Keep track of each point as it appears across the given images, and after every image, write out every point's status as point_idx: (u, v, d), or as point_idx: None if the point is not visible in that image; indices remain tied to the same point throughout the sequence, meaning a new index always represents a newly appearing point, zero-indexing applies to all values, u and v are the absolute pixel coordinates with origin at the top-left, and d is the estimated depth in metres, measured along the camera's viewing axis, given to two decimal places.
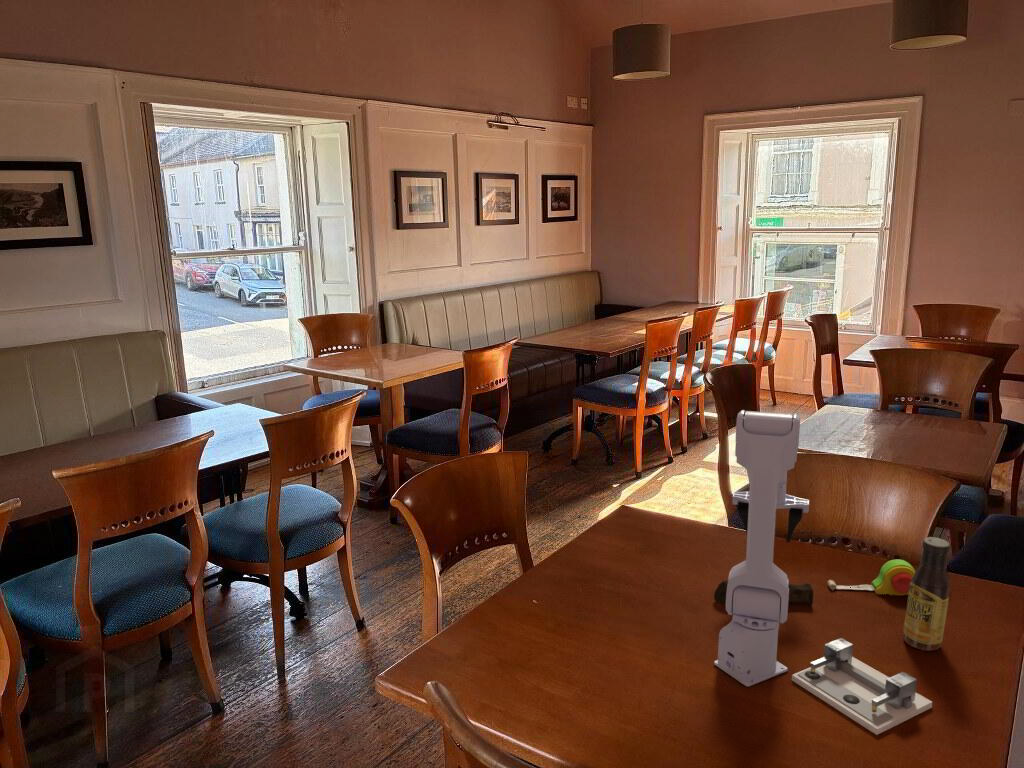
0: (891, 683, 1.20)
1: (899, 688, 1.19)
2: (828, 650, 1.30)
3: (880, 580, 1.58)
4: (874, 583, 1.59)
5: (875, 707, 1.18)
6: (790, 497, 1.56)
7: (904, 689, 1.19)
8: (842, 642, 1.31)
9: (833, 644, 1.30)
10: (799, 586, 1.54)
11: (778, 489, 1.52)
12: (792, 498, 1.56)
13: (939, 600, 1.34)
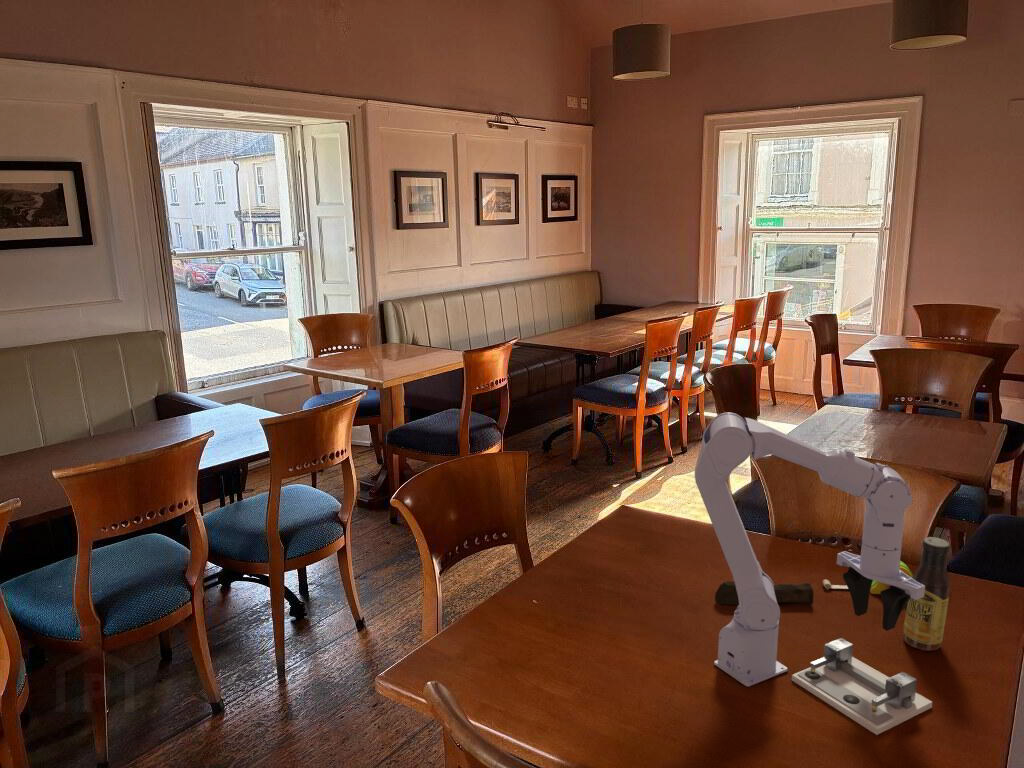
0: (891, 683, 1.20)
1: (899, 688, 1.19)
2: (828, 650, 1.30)
3: None
4: None
5: (875, 707, 1.18)
6: (906, 577, 1.23)
7: (904, 689, 1.19)
8: (842, 642, 1.31)
9: (833, 644, 1.30)
10: (799, 586, 1.54)
11: (879, 555, 1.22)
12: (908, 579, 1.22)
13: (939, 600, 1.34)
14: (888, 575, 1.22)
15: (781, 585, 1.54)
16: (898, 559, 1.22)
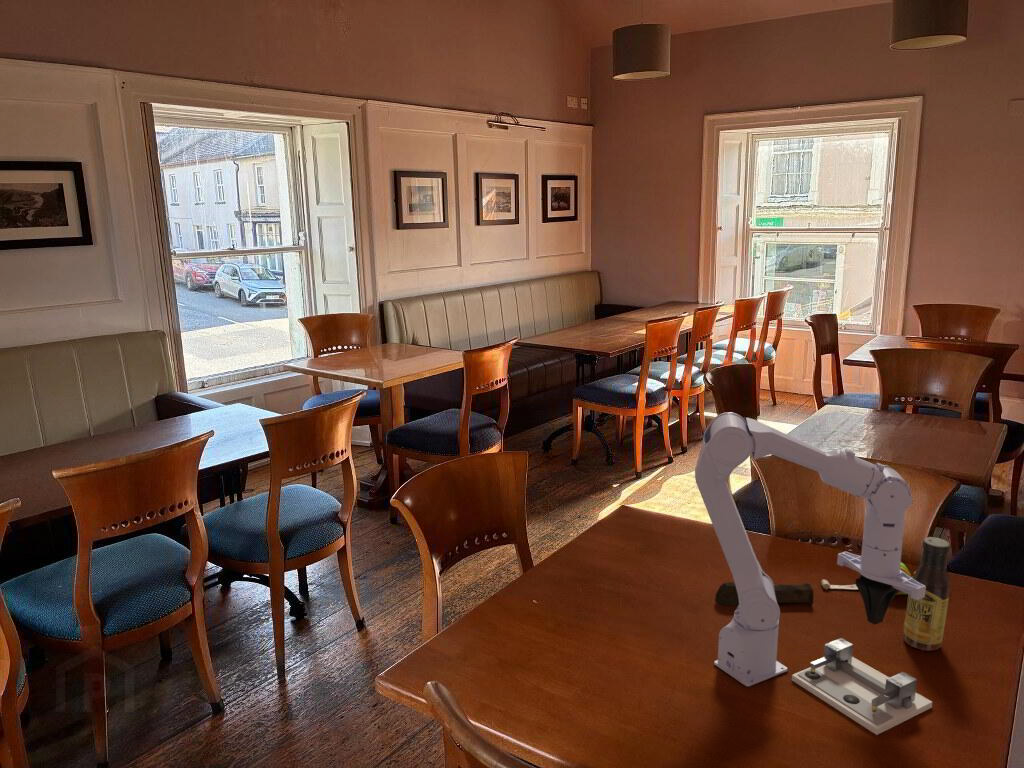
0: (891, 683, 1.20)
1: (899, 688, 1.19)
2: (828, 650, 1.30)
3: None
4: None
5: (875, 707, 1.18)
6: (907, 577, 1.23)
7: (904, 689, 1.19)
8: (842, 642, 1.31)
9: (833, 644, 1.30)
10: (799, 586, 1.54)
11: (880, 556, 1.22)
12: (908, 579, 1.22)
13: (939, 600, 1.34)
14: (889, 575, 1.22)
15: (781, 585, 1.54)
16: (899, 559, 1.22)
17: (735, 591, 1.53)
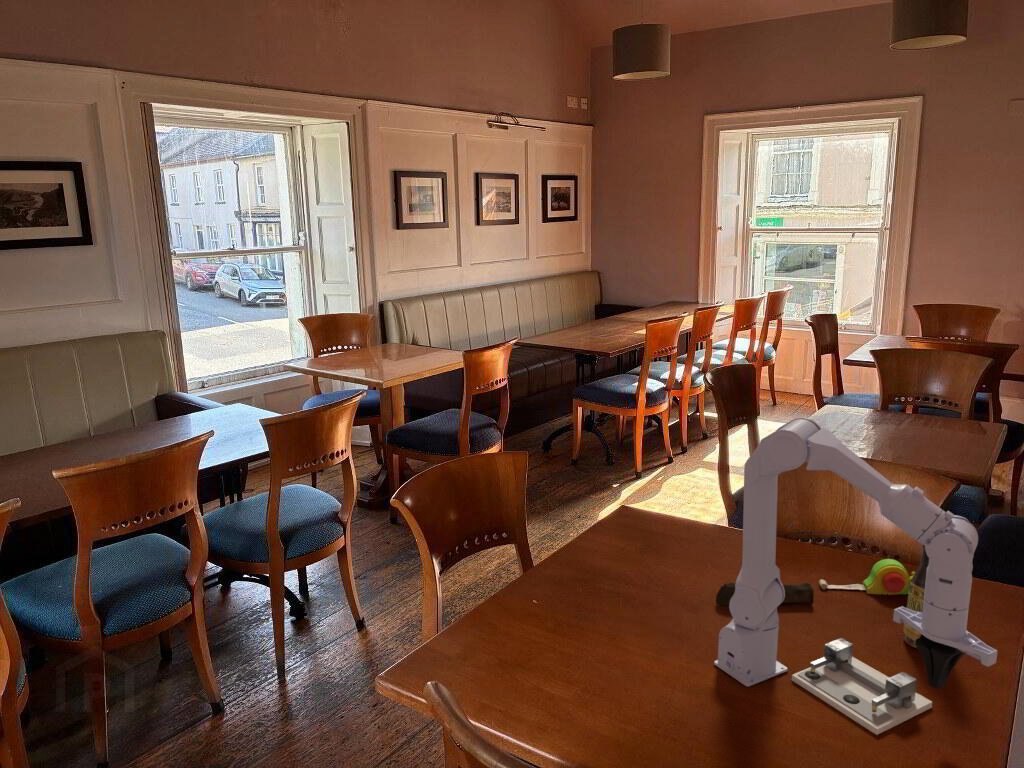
0: (891, 683, 1.20)
1: (899, 688, 1.19)
2: (828, 650, 1.30)
3: (871, 580, 1.58)
4: (865, 583, 1.59)
5: (875, 707, 1.18)
6: (974, 639, 1.11)
7: (904, 689, 1.19)
8: (842, 642, 1.31)
9: (833, 644, 1.30)
10: (799, 586, 1.54)
11: (945, 616, 1.10)
12: (976, 641, 1.10)
13: None
14: (955, 637, 1.10)
15: None
16: (965, 619, 1.11)
17: None
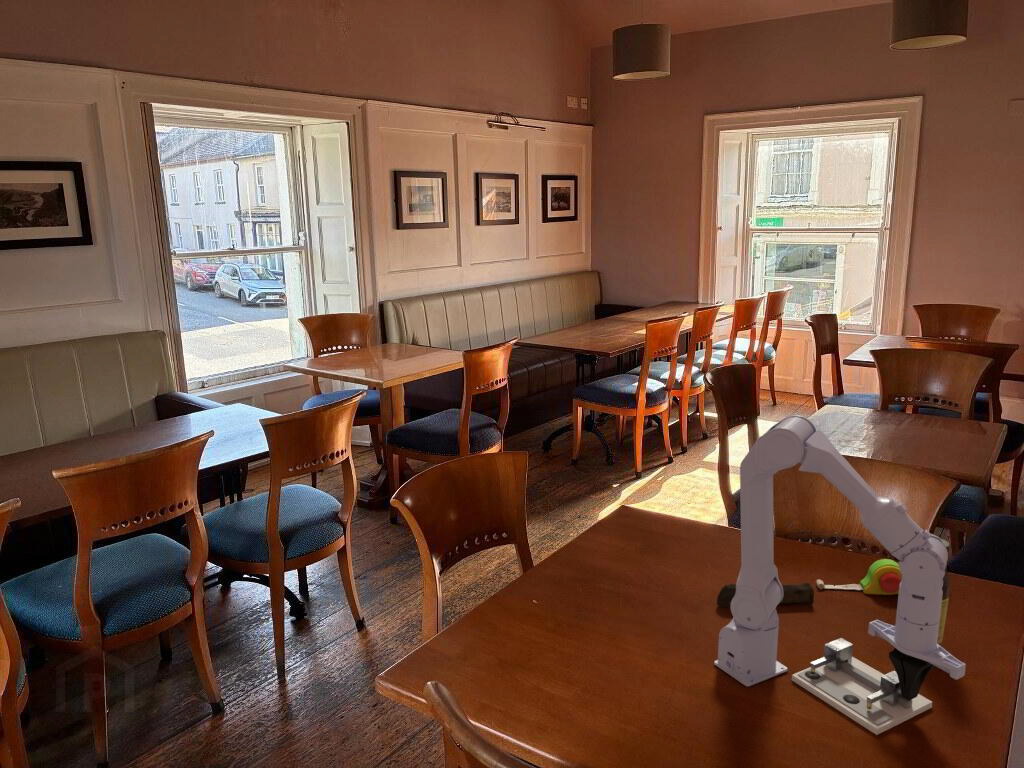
0: (886, 680, 1.21)
1: (894, 685, 1.19)
2: (828, 650, 1.30)
3: (868, 580, 1.58)
4: (862, 583, 1.59)
5: (870, 704, 1.19)
6: (945, 653, 1.15)
7: (899, 686, 1.20)
8: (842, 642, 1.31)
9: (833, 644, 1.30)
10: (799, 586, 1.54)
11: (916, 630, 1.14)
12: (946, 655, 1.15)
13: None
14: (925, 651, 1.15)
15: None
16: (936, 634, 1.15)
17: None
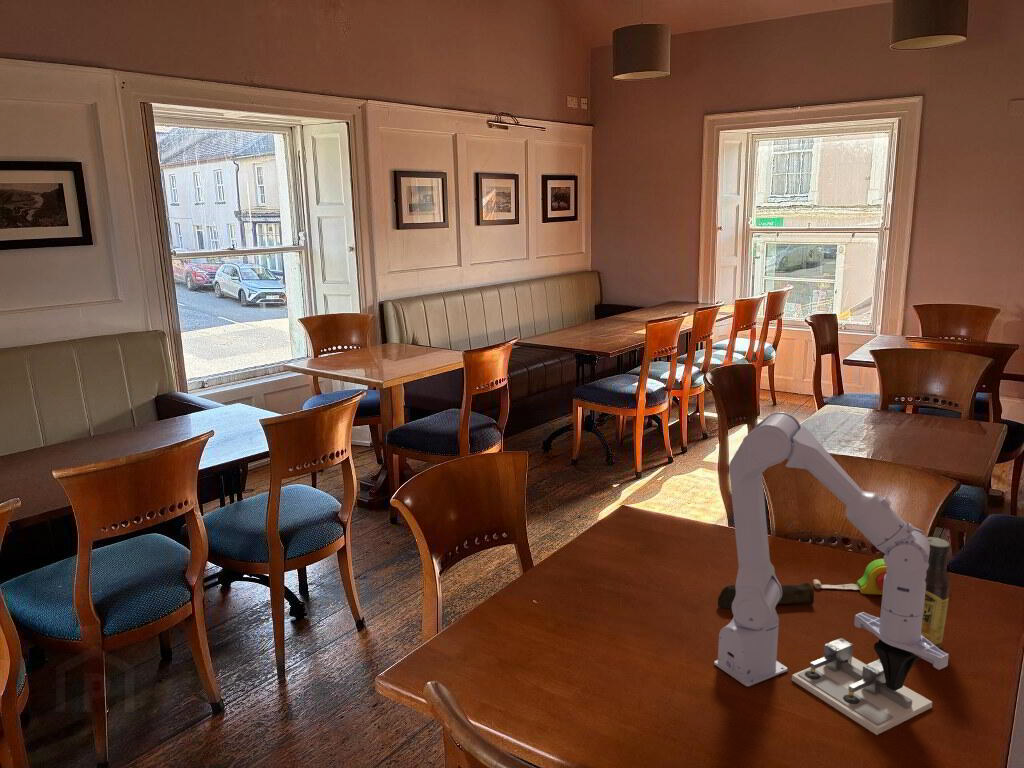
0: (868, 670, 1.23)
1: (875, 674, 1.22)
2: (828, 650, 1.30)
3: (865, 580, 1.58)
4: (859, 582, 1.59)
5: (852, 693, 1.21)
6: (928, 644, 1.17)
7: (880, 675, 1.23)
8: (842, 642, 1.31)
9: (833, 644, 1.30)
10: (799, 586, 1.54)
11: (900, 621, 1.17)
12: (930, 645, 1.17)
13: (939, 600, 1.34)
14: (909, 642, 1.17)
15: (782, 586, 1.54)
16: (920, 625, 1.17)
17: None
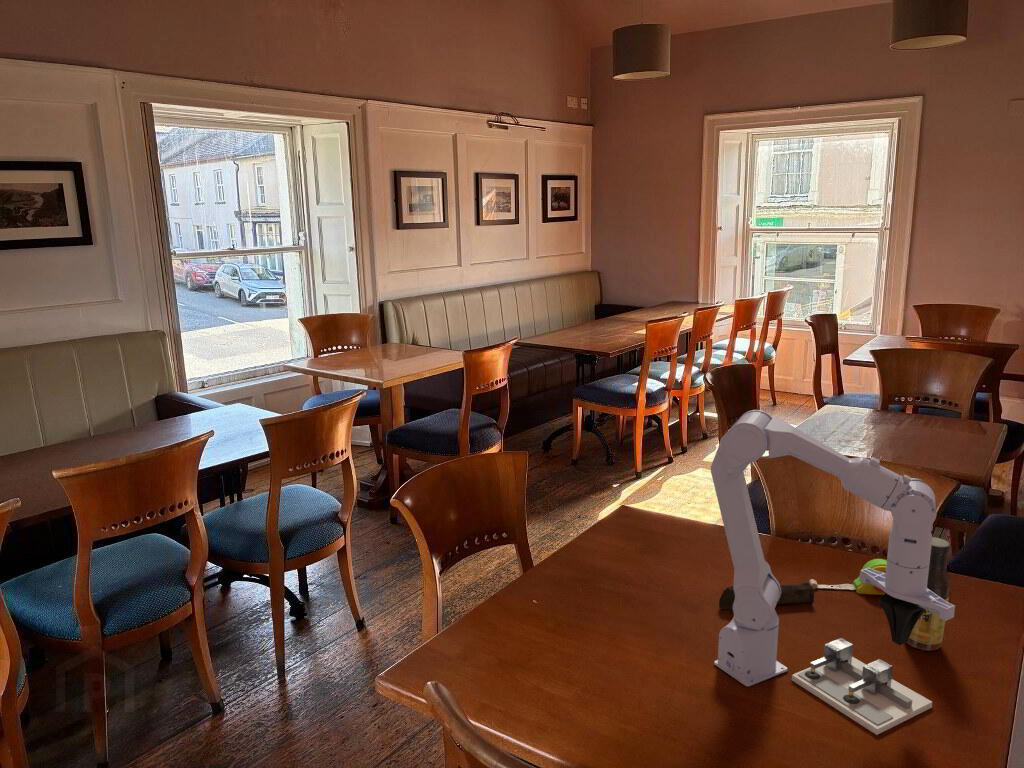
0: (868, 670, 1.23)
1: (875, 674, 1.22)
2: (828, 650, 1.30)
3: None
4: (855, 582, 1.59)
5: (852, 693, 1.21)
6: (934, 596, 1.17)
7: (880, 675, 1.23)
8: (842, 642, 1.31)
9: (833, 644, 1.30)
10: (799, 586, 1.54)
11: (906, 573, 1.16)
12: (936, 598, 1.16)
13: None
14: (915, 594, 1.16)
15: (782, 586, 1.54)
16: (926, 577, 1.16)
17: None
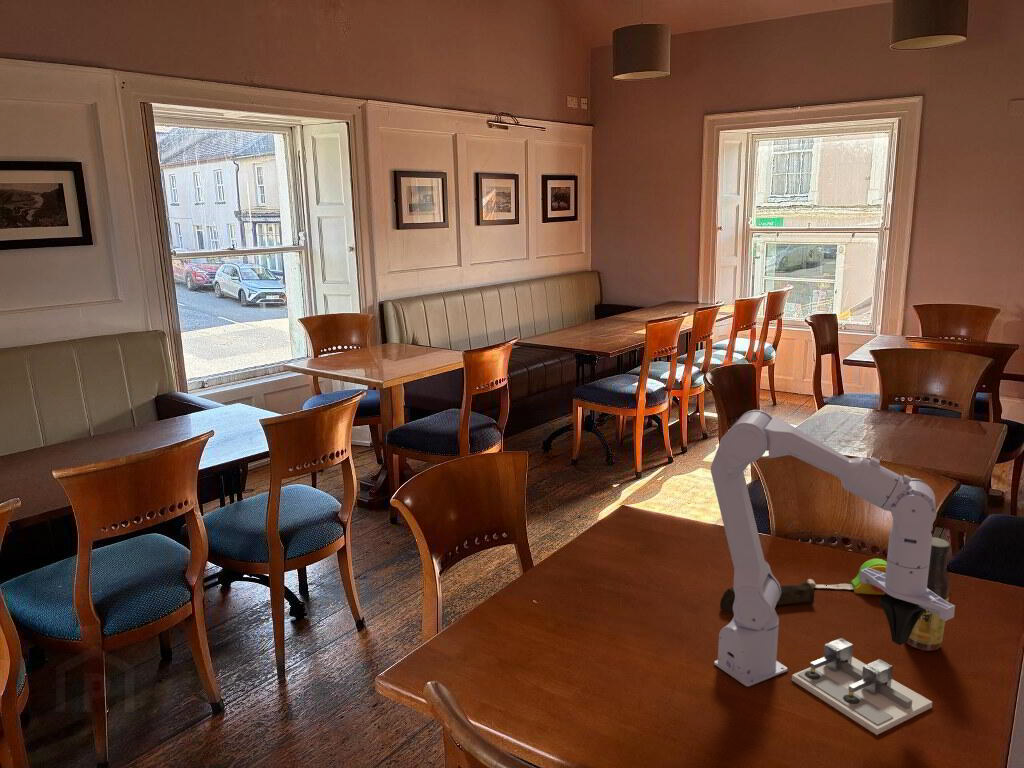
0: (868, 670, 1.23)
1: (875, 674, 1.22)
2: (828, 650, 1.30)
3: (859, 579, 1.58)
4: (853, 582, 1.59)
5: (852, 693, 1.21)
6: (934, 596, 1.17)
7: (880, 675, 1.23)
8: (842, 642, 1.31)
9: (833, 644, 1.30)
10: (799, 586, 1.54)
11: (906, 573, 1.16)
12: (936, 598, 1.16)
13: None
14: (915, 594, 1.16)
15: (782, 587, 1.54)
16: (926, 577, 1.16)
17: None
